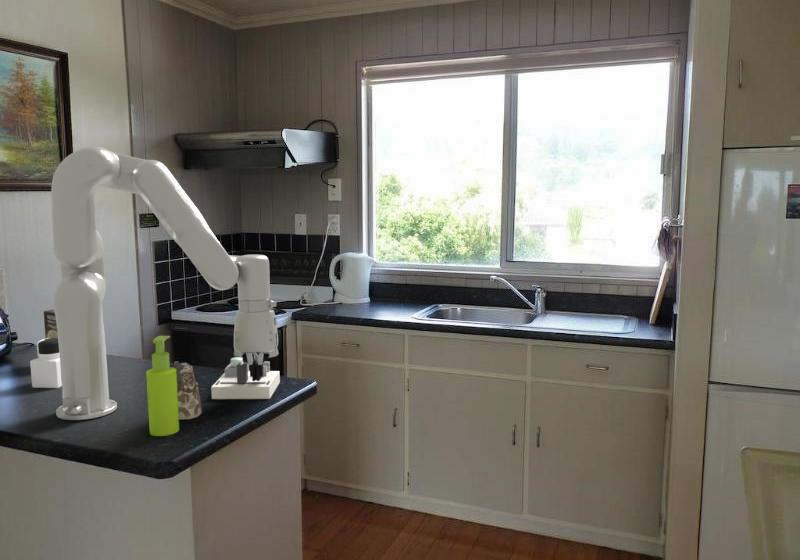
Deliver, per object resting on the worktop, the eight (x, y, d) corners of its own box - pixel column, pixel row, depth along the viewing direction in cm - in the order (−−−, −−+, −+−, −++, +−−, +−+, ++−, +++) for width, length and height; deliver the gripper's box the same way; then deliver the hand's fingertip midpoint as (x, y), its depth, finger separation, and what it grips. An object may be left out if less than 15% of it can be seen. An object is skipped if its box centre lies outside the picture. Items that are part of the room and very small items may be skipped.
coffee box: (46, 365, 194) (41, 310, 192) (67, 360, 199) (63, 307, 197) (64, 370, 189) (60, 313, 187) (85, 364, 194) (82, 310, 192)
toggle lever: (267, 371, 172) (249, 342, 171) (261, 375, 172) (243, 346, 171) (270, 368, 175) (252, 340, 174) (263, 372, 175) (245, 343, 174)
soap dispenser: (184, 424, 145) (179, 333, 142) (174, 436, 138) (169, 341, 135) (156, 424, 145) (151, 333, 142) (145, 436, 138) (140, 341, 135)
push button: (241, 369, 172) (241, 360, 171) (229, 369, 172) (229, 360, 171) (244, 366, 175) (243, 357, 174) (232, 366, 175) (232, 357, 174)
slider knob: (245, 382, 163) (244, 364, 163) (237, 383, 163) (236, 364, 163) (248, 379, 166) (247, 361, 166) (239, 379, 166) (239, 361, 166)
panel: (269, 398, 162) (268, 376, 162) (211, 399, 162) (210, 376, 162) (279, 382, 176) (279, 361, 175) (226, 382, 176) (225, 361, 175)
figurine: (179, 422, 146) (176, 368, 145) (162, 415, 151) (159, 363, 149) (207, 413, 152) (205, 362, 150) (190, 407, 156) (187, 357, 155)
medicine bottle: (74, 380, 178) (70, 336, 177) (57, 388, 171) (54, 342, 170) (48, 380, 179) (45, 336, 177) (31, 387, 172) (27, 342, 170)
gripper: (288, 303, 166) (289, 375, 168) (227, 303, 166) (230, 375, 168) (282, 308, 159) (284, 383, 161) (219, 308, 159) (222, 384, 161)
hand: (257, 379), depth 165 cm, fingers closed
